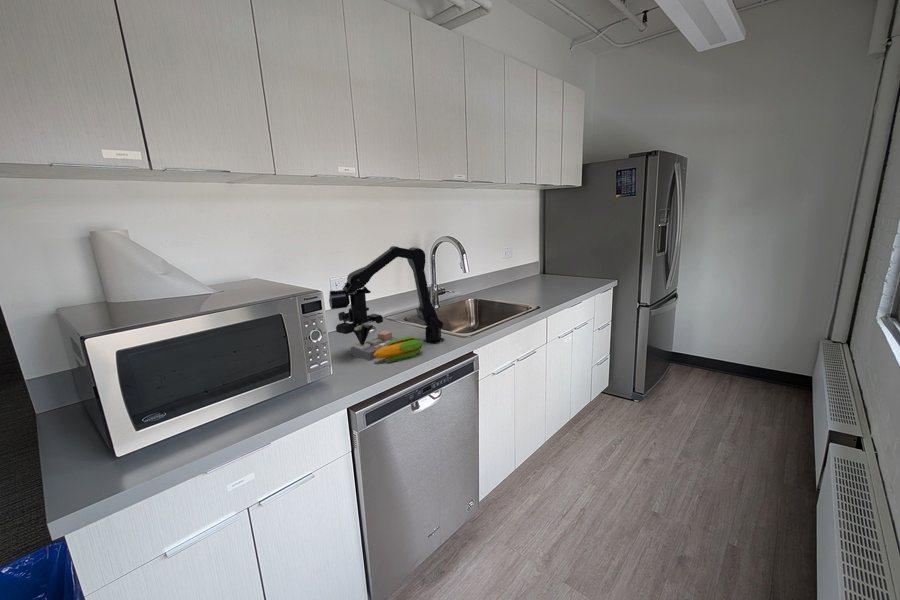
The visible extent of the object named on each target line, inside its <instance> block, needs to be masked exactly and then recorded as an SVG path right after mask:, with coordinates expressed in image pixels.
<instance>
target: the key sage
mask: <svg viewBox="0 0 900 600" xmlns="http://www.w3.org/2000/svg"><path fill="white" fill-rule="evenodd" d="M376 338H377V337H373V338H371V339H367V340H366V341H365V342H366V343H368V344H370V345H376V344H379V343H381V342H382V341H381V340H380V339H376Z"/></svg>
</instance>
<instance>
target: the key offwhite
mask: <svg viewBox="0 0 900 600" xmlns="http://www.w3.org/2000/svg"><path fill="white" fill-rule="evenodd" d="M353 347H355V348H356V349H360V350H363V349H365V348H368V347H370V344H368V343H364V345H361V344H360V342H359V343H356V344H355V345H354V346H353Z"/></svg>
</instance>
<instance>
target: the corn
mask: <svg viewBox="0 0 900 600" xmlns="http://www.w3.org/2000/svg"><path fill="white" fill-rule="evenodd" d="M398 338H399V339H395V340H392V341H389V342H387V343H391V342H394V343H391V344H389V345H386V346H384V347H382V348H380V349H379V350H377V351H376V352H375V353H374V354H373V355H374V356H375V357H376V358H375V359H384V362H396V361H400V359H401V360H404V358H405V359H407V358H411V357H414V356H416V355H418V353H420V352H421V349H422V347H423V342H422V340H420V338H417V337H415V336H412V335H411V336H403V337H398ZM400 340H402V341H400ZM395 341H398V342H395Z"/></svg>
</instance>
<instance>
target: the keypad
mask: <svg viewBox="0 0 900 600" xmlns="http://www.w3.org/2000/svg"><path fill="white" fill-rule="evenodd" d="M375 338H376V339H378V337H375ZM399 338H400V337H394V336H392V339H389V340H386V341H382V340H381V341H382V342H381V343H379V344H376V345H370V347H368V348H365V349H363V350H360V349H356V348H355V347H354V346H351V347H350V348H349V349H350V355H351V356H353V357H357V358H360V359H363V360H368V361H372V360H375V359H377V358H376V357H375V356H374V355H373V354H374V353H375V352H376V351H377V350H379V349H380V348H382V347H384V346H386V345H389V344H391V343H394V342H391V343H387V342H389V341H392V340H395V339H399ZM400 341H402V340H400ZM395 342H398V341H395ZM365 343H366V341H365Z"/></svg>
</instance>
